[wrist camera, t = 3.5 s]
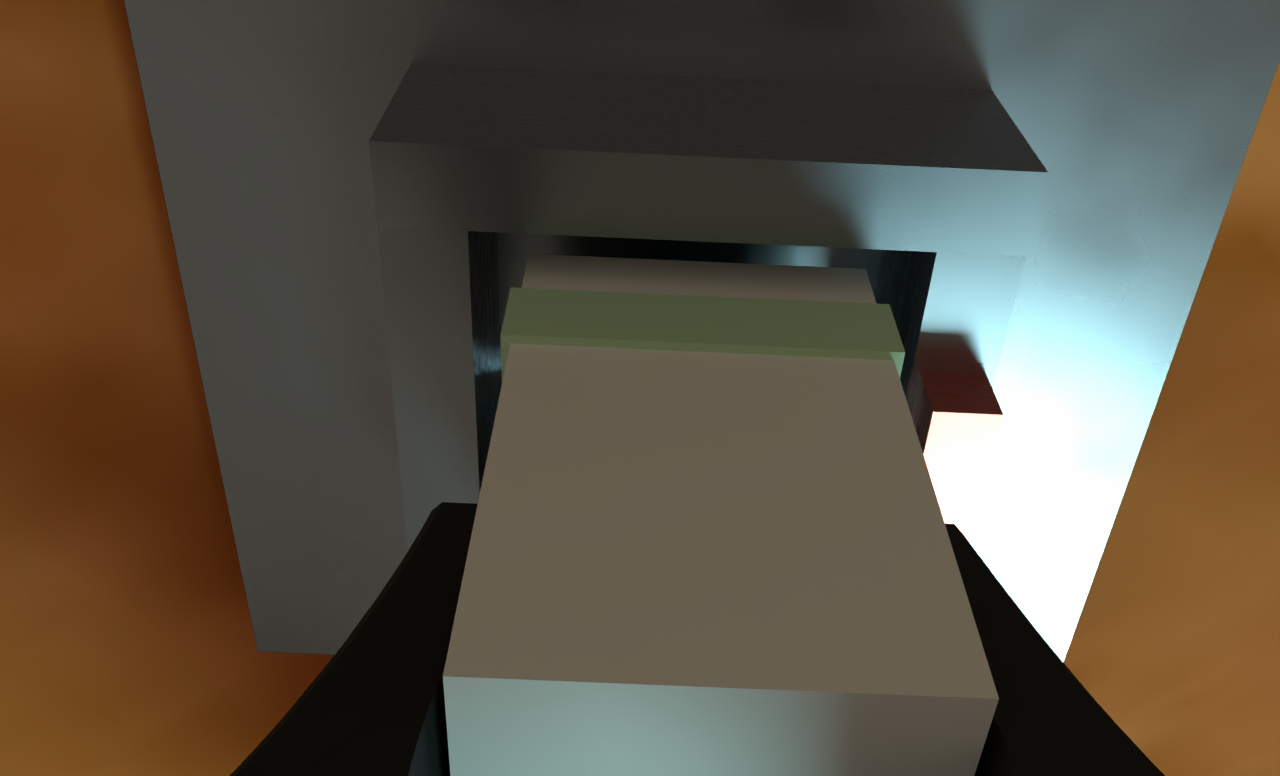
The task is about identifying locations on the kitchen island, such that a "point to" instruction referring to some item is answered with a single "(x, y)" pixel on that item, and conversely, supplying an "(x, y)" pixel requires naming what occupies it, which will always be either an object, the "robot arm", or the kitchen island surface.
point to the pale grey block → (708, 538)
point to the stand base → (684, 234)
